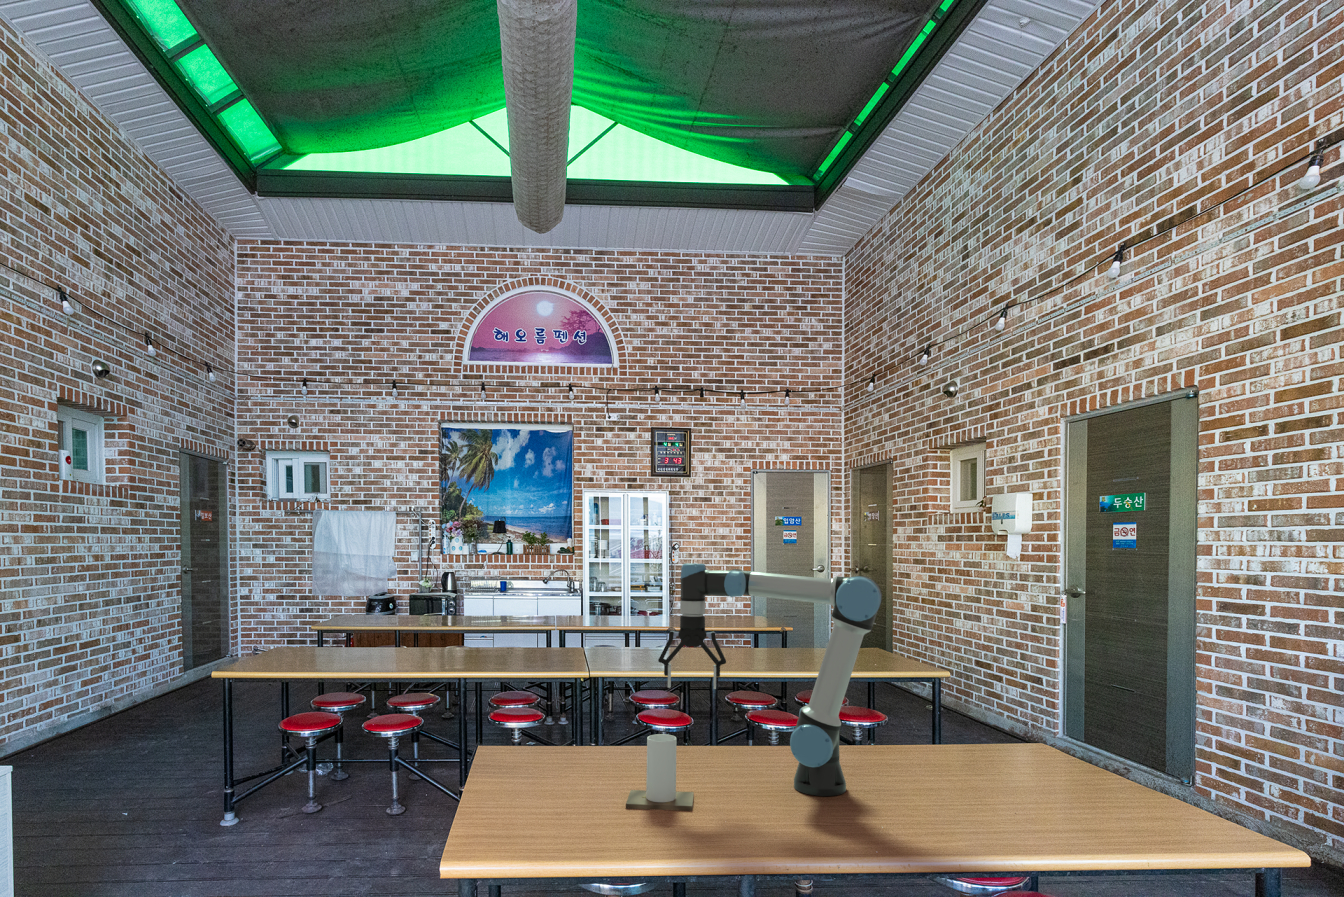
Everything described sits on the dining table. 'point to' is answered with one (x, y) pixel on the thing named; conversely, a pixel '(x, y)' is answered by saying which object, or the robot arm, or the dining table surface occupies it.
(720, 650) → the robot arm
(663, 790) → the cup
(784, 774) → the dining table surface
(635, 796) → the board
